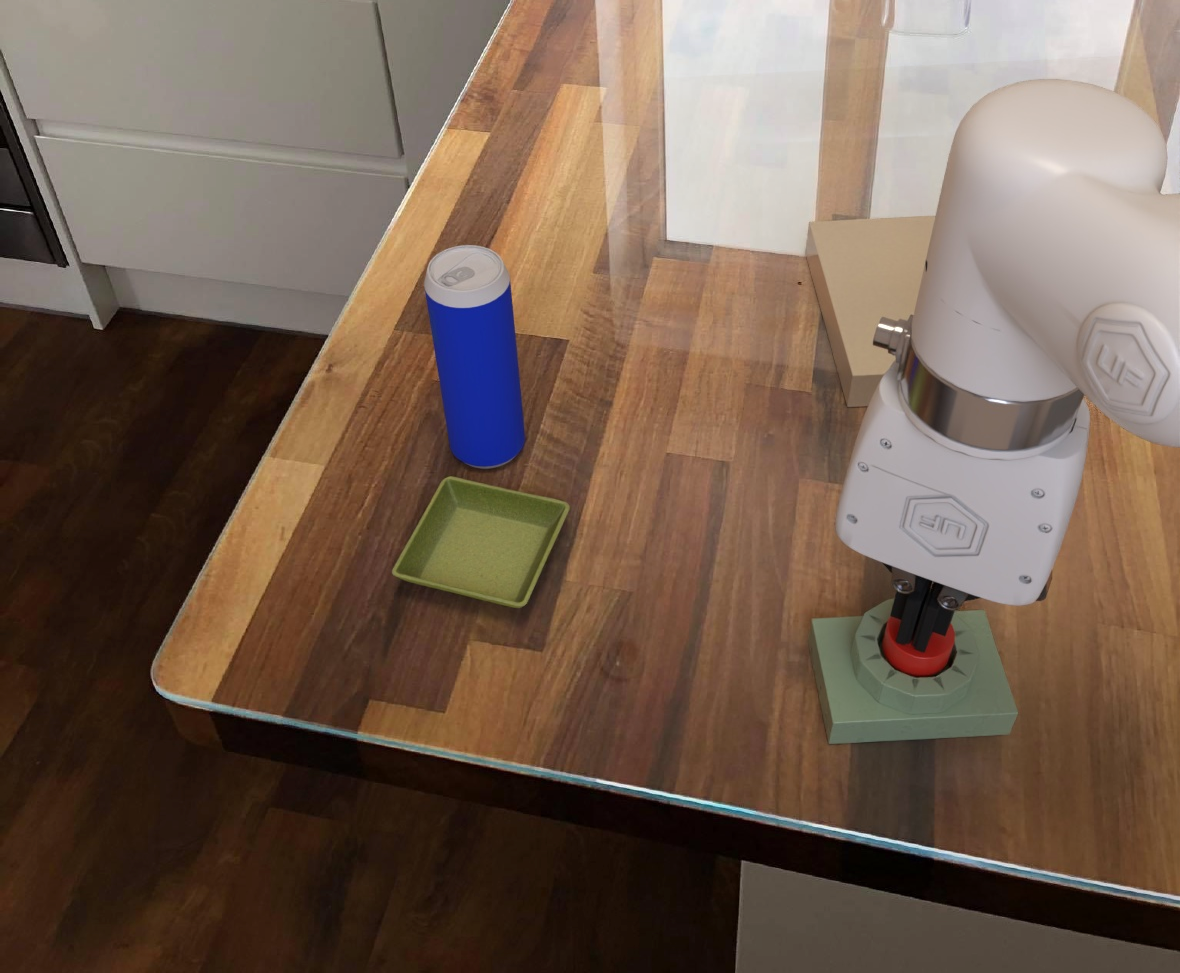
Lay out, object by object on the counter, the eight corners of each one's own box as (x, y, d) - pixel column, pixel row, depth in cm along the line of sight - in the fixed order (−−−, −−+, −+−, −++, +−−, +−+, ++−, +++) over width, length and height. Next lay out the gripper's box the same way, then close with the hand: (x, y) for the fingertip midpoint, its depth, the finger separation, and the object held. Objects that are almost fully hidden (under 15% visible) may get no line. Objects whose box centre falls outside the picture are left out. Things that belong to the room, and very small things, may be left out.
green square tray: (448, 495, 81) (445, 473, 79) (573, 523, 79) (572, 501, 77) (393, 595, 75) (389, 574, 73) (527, 628, 73) (524, 607, 71)
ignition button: (940, 621, 68) (946, 602, 67) (956, 675, 66) (962, 656, 64) (876, 624, 68) (880, 605, 67) (889, 679, 66) (894, 660, 64)
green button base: (976, 631, 72) (991, 589, 69) (1009, 734, 67) (1026, 694, 64) (807, 640, 72) (814, 598, 69) (828, 744, 67) (836, 704, 64)
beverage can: (491, 409, 86) (470, 231, 75) (541, 445, 83) (526, 266, 73) (434, 446, 84) (404, 268, 73) (484, 484, 81) (460, 306, 70)
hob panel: (979, 244, 98) (988, 210, 95) (1055, 416, 84) (1067, 382, 82) (805, 252, 97) (809, 219, 95) (852, 426, 84) (858, 392, 82)
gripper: (796, 376, 52) (761, 628, 66) (1158, 489, 48) (1041, 737, 61) (854, 278, 57) (811, 533, 70) (1191, 373, 52) (1075, 628, 66)
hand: (918, 627), depth 66 cm, fingers closed
